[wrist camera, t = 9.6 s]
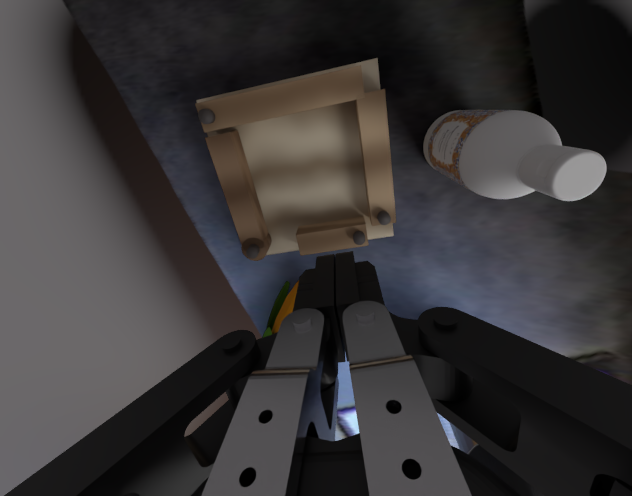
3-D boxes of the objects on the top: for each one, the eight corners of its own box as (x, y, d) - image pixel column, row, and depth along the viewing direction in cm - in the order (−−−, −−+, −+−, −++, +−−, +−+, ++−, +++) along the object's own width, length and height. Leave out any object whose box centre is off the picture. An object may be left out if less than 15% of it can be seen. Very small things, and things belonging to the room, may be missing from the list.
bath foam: (436, 102, 33) (559, 93, 15) (493, 119, 33) (681, 129, 15) (412, 163, 36) (492, 217, 18) (465, 178, 36) (596, 244, 18)
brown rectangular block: (274, 248, 40) (268, 263, 36) (252, 252, 40) (243, 267, 36) (239, 130, 33) (227, 132, 30) (213, 136, 34) (198, 139, 30)
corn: (247, 393, 44) (276, 286, 36) (256, 354, 51) (282, 256, 42) (295, 401, 45) (334, 299, 37) (297, 362, 52) (330, 268, 43)
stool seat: (390, 230, 40) (399, 249, 34) (251, 251, 42) (239, 272, 37) (375, 60, 32) (383, 50, 26) (203, 100, 34) (179, 99, 29)
